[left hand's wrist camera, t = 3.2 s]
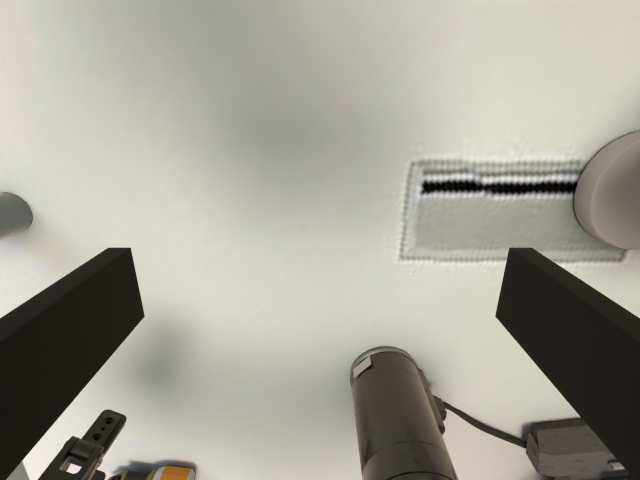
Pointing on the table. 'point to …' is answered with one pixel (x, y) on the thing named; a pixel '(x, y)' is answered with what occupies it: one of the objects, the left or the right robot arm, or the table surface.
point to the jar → (13, 215)
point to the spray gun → (158, 474)
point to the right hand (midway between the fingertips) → (105, 444)
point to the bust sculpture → (612, 194)
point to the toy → (572, 453)
